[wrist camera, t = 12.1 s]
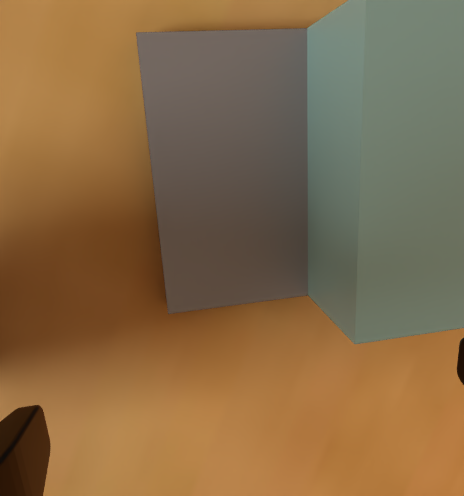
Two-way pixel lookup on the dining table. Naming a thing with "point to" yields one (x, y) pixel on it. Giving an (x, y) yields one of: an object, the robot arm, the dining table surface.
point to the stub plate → (228, 163)
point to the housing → (387, 167)
